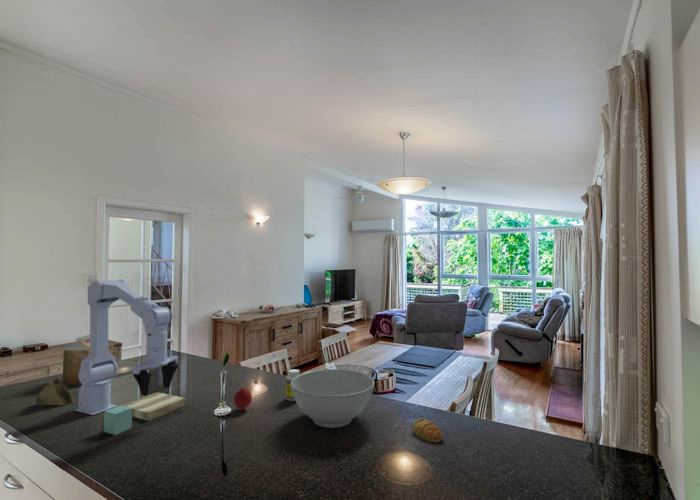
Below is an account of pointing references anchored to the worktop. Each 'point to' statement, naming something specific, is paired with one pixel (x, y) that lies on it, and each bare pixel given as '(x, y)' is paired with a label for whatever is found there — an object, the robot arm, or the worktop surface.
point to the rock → (54, 394)
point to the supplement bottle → (289, 378)
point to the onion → (242, 398)
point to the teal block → (118, 420)
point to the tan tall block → (75, 359)
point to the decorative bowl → (332, 395)
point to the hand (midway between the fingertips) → (155, 391)
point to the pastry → (427, 430)
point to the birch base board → (155, 405)
